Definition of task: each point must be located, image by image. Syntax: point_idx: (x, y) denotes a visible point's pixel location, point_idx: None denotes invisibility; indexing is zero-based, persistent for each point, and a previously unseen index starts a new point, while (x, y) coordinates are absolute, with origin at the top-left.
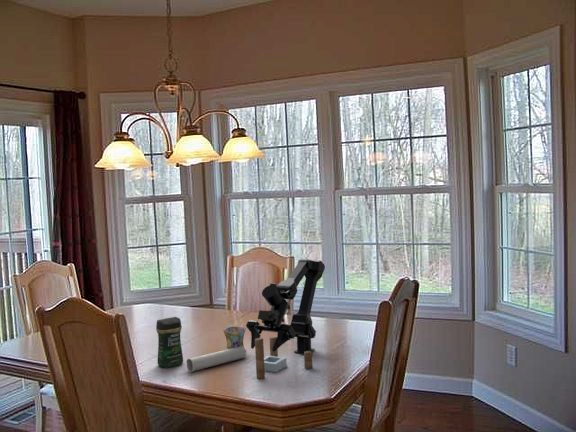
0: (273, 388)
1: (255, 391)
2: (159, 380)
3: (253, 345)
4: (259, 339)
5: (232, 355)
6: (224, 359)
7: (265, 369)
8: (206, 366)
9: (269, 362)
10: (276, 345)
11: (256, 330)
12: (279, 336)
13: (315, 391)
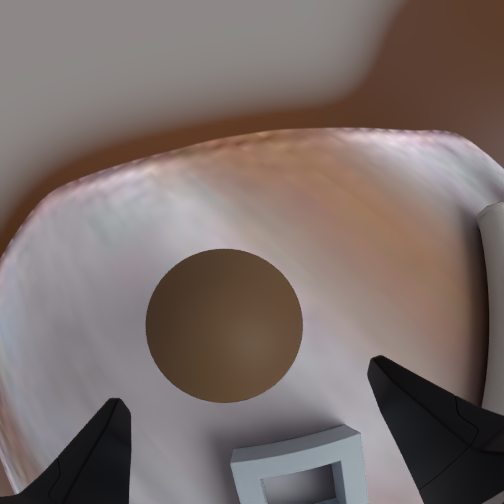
0: (111, 277)
1: (156, 217)
2: (459, 150)
3: (381, 386)
4: (206, 319)
5: (496, 389)
6: (494, 348)
7: (297, 439)
8: (486, 268)
9: (283, 465)
10: (83, 439)
11: (493, 495)
12: (31, 500)
13: (6, 325)
